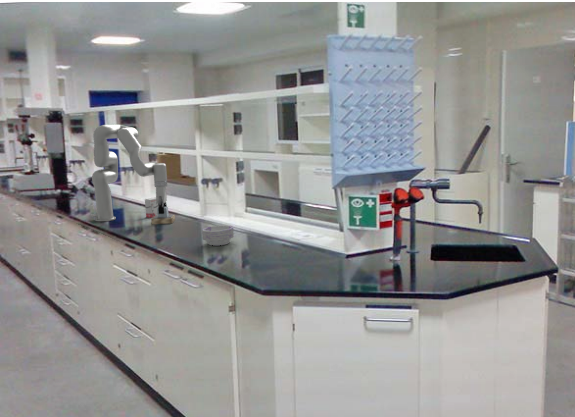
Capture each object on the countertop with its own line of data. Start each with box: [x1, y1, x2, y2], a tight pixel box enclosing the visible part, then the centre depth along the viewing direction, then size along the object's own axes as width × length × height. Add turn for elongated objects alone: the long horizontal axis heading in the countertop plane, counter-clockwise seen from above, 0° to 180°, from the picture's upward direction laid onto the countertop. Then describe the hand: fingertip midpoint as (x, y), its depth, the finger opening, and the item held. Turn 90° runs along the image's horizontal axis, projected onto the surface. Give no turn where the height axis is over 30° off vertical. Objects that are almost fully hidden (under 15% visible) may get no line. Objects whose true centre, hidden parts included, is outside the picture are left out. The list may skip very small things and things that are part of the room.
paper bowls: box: [201, 225, 235, 247], centre depth 272 cm, size 15×15×8 cm
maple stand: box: [150, 214, 176, 225], centre depth 337 cm, size 12×12×3 cm
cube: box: [157, 206, 170, 217], centre depth 336 cm, size 6×6×6 cm
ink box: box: [144, 196, 158, 219], centre depth 356 cm, size 9×5×12 cm, turn 143°
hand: (162, 212), depth 336 cm, fingers open, 9 cm apart
